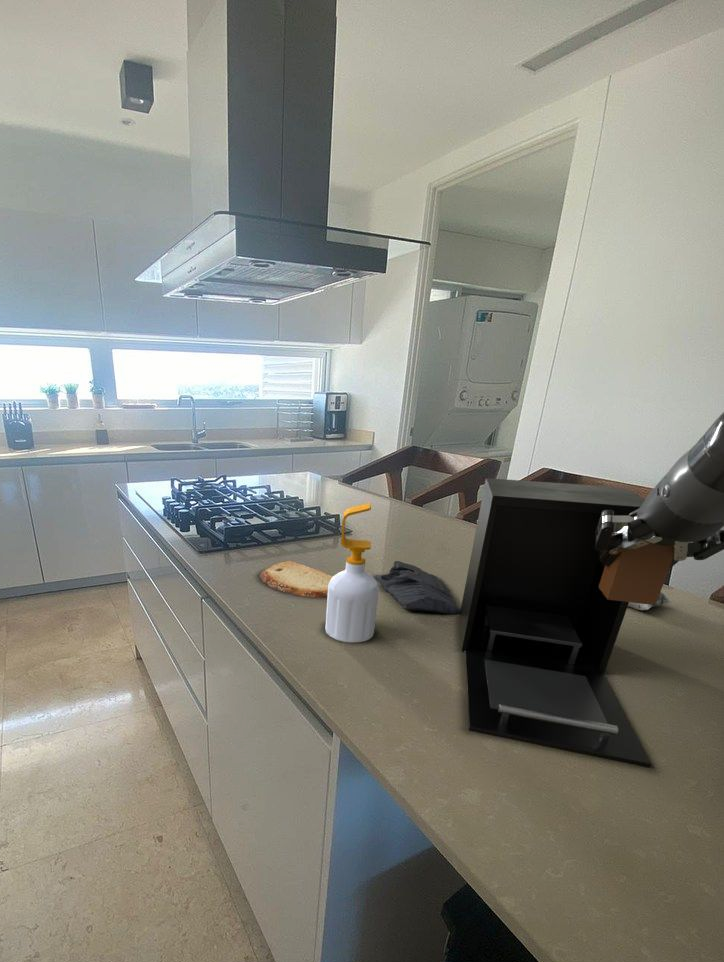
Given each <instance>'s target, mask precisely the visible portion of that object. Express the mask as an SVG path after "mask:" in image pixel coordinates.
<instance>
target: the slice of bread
mask: <svg viewBox="0 0 724 962" xmlns="http://www.w3.org/2000/svg"><path fill="white" fill-rule="evenodd" d="M259 577H260V579H261V580H262V582H263V583H264V584H265V585H267V586H268V587H270V588H273V589H275V590H278V591H281V592H284V593H288V594H293V595H296V596H302V597H309V598H328V584H329V582H330V580H331V578H332V577H333V576H332V575H329V574H328V573H326V572H324V571H321V570H319V569H315V568H312V567H309V566H307V565H303V564H301V563H298V562H294V561H293V560H288V561H283V562H278V563H275V564H274V565H271V566H269V567H268V568H266V569H265V570H263V571H261V573H260V574H259Z"/></svg>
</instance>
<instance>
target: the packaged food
mask: <svg viewBox="0 0 724 962" xmlns="http://www.w3.org/2000/svg"><path fill="white" fill-rule="evenodd" d="M670 603H671V601H670V599H669V598H668V597H667V596H666V595H665V594H664V593H663V592H662V591H661V592H660V595H659V598H658V600H657V603H656V605H649V604H641V603H632V602H629V604H628V607H627V608H629V609H633V610H636V611H648V610H649V609H651V608H655V607H660V606H663V605H667V604H670Z"/></svg>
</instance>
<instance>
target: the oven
mask: <svg viewBox="0 0 724 962" xmlns="http://www.w3.org/2000/svg"><path fill="white" fill-rule="evenodd" d="M645 499H646V498H644V497H642V496H641V495H639V494H637V493H636V492H634V491H632V490H631V489H629V488H628V487H624V486H623V487H621V486H607V485H594V484H593V485H592V484H579V483H562V482H550V481H533V480H521V479H520V480H519V479H503V478H491V477H490V478H488V477H486V478H485V480H484V487H483V492H482V497H481V502H480V507H479V513H478V517H477V523H476V527H475V533H474V538H473V544H472V549H471V553H470V559H469V564H468V569H467V575H466V578H465V579H466V581H465V584H464V589H463V595H462V600H461V605H460V609H461V610H460V613H459V629H460V630H459V631H460V651H461V652H462V653H464V670H465V687H466V688H465V689H466V705H467V722H468V723H467V724H468V731H469V732H474V733H478V734H483V735H488V736H493V737H498V738H503V739H507V740H513V741H516V742H517V741H518V742H522V743H527V744H531V745H536V746H542V747H545V748H552V749H556V750H560V751H566V752H571V753H576V754H580V755H585V756H590V757H595V758H600V759H604V760H609V761H613V762H619V763H625V764H629V765H634V766H639V767H644V768H649V769H650V767H651V762H650V759H649V758H648V756H647V754H646V752H645V750H644V749H643V746H642V745H641V743H640V741H639V739H638V737H637V736H636V734H635V732H634V730H633V728H632V726H631V724H630V723H629V720H628V719H627V716H626V714H625V712H624V711H623V709H622V707H621V705H620V704H619V701H618V699H617V697H616V696H615V694H614V692H613V690H612V688H611V687H610V685H609V683H608V680H607V679H606V677H605V672H606V670H607V667H608V663H609V661H610V658H611V655H612V653H613V651H614V648H615V644H616V641H617V638H618V635H619V632H620V630H621V627H622V624H623V621H624V618H625V615H626V613H627V609H628V608H629V607H628V604H629V602H624V601H616V600H608V599H607V598H606V597H605V596H604V594H603V593H602V591H601V590H600V589H599V584H600V581H601V577H602V574H603V571H604V568H605V566H603V564H602V562H600V551H597V550H595V544H596V536H595V532H596V529H597V526H598V523H599V520H600V517H601V514H602V512H603V511H605V510H613V511H614V516H628V515H629V514H630V513H631V512H633V511H635V510H637V509H639V508H640V507H641V506H642V504H643V502H644V500H645ZM621 529H622V527H621V528H620V529H619V530H621ZM619 530H617V531H619ZM486 605H488V606H496V607H503V608H510V609H518V610H525V611H532V612H540V613H547V614H554V615H562V616H568V617H569V619H570V621H571V623H572V625H573V627H574V629H575V631H576V633H577V635H578V637H579V639H580V641H581V643H582V647H580V648H579V651H578V654H577V657H576V660H575V663H574V664H569V662H568V660H569V657H570V653H571V650H572V647H573V646H570V645H563V644H557V643H550V642H544V641H537V640H530V639H524V638H517V637H511V636H504V635H497V634H496V636H495V640H494V644H493V649H492V651H488V650H487V645H488V641H489V637H490V631H489V625H488V626H484V625H483V623H484V619H485V614H486Z"/></svg>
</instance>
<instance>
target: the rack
mask: <svg viewBox="0 0 724 962" xmlns="http://www.w3.org/2000/svg"><path fill="white" fill-rule="evenodd" d="M483 625H484V626H488V625H489V631H490V637H489V641H488V645H487V650H488V651H492V649H493V644H494V640H495V636H496V634H497V635H504V636H511V637H517V638H524V639H530V640H537V641H544V642H550V643H557V644H563V645H570V646H573V647H572V650H571V653H570V657H569V660H568V662H569V664H574V663H575V660H576V657H577V654H578V651H579V648H580V647H582V643H581V641H580V639H579V637H578V635H577V633H576V631H575V629H574V627H573V625H572V623H571V621H570V619H569V617H568V616H562V615H554V614H547V613H540V612H532V611H525V610H518V609H510V608H503V607H496V606H488V605H486V614H485V619H484V623H483Z"/></svg>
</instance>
